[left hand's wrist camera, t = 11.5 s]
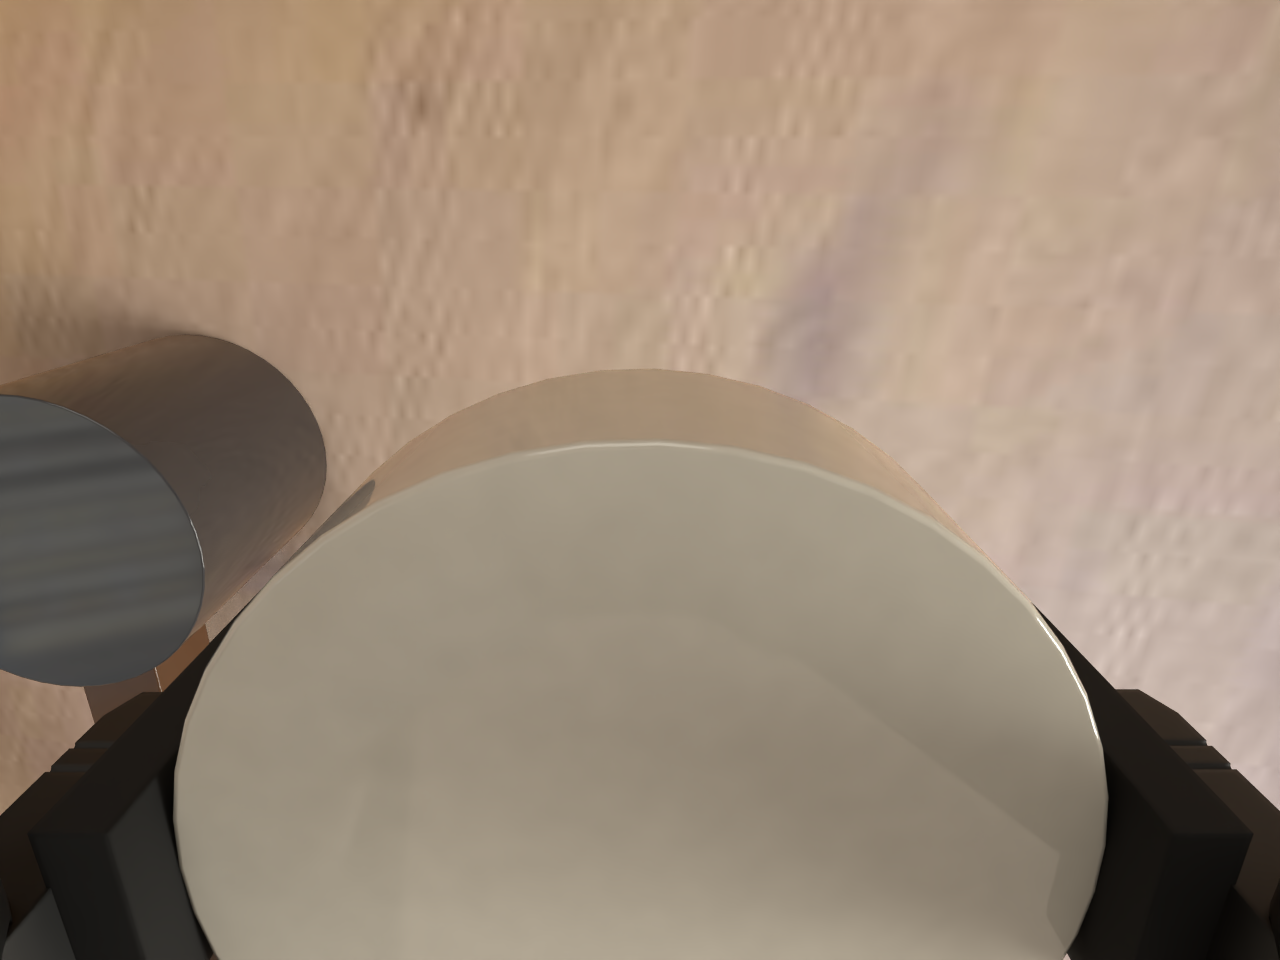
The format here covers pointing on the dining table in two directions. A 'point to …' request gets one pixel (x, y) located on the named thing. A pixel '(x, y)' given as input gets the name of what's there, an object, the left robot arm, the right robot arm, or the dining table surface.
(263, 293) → the dining table surface
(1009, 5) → the dining table surface
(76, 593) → the mallet
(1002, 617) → the lid
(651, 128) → the dining table surface
